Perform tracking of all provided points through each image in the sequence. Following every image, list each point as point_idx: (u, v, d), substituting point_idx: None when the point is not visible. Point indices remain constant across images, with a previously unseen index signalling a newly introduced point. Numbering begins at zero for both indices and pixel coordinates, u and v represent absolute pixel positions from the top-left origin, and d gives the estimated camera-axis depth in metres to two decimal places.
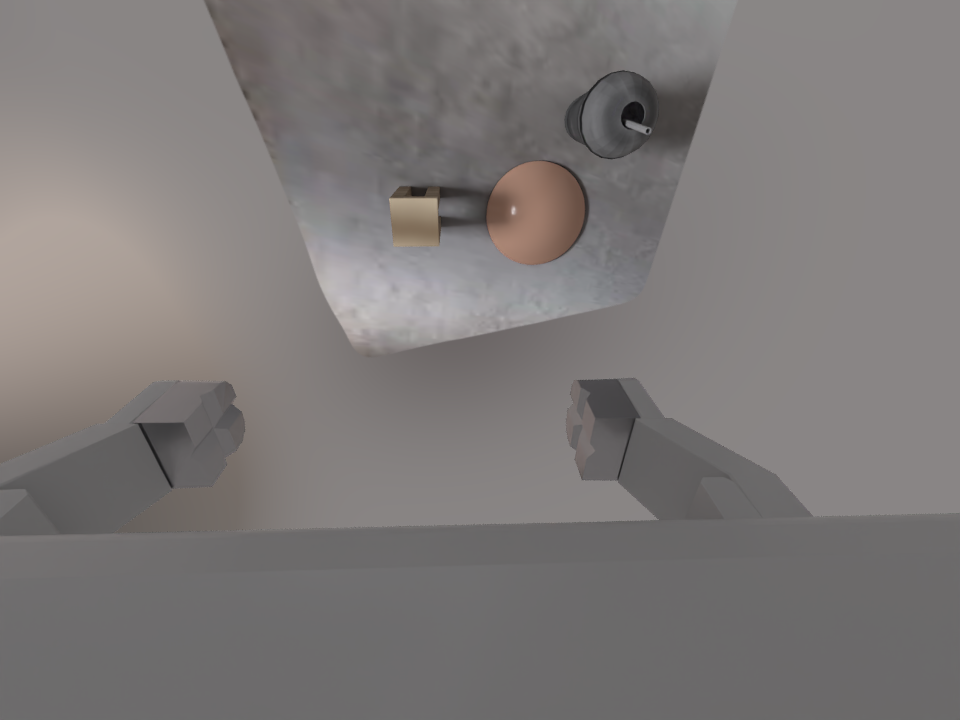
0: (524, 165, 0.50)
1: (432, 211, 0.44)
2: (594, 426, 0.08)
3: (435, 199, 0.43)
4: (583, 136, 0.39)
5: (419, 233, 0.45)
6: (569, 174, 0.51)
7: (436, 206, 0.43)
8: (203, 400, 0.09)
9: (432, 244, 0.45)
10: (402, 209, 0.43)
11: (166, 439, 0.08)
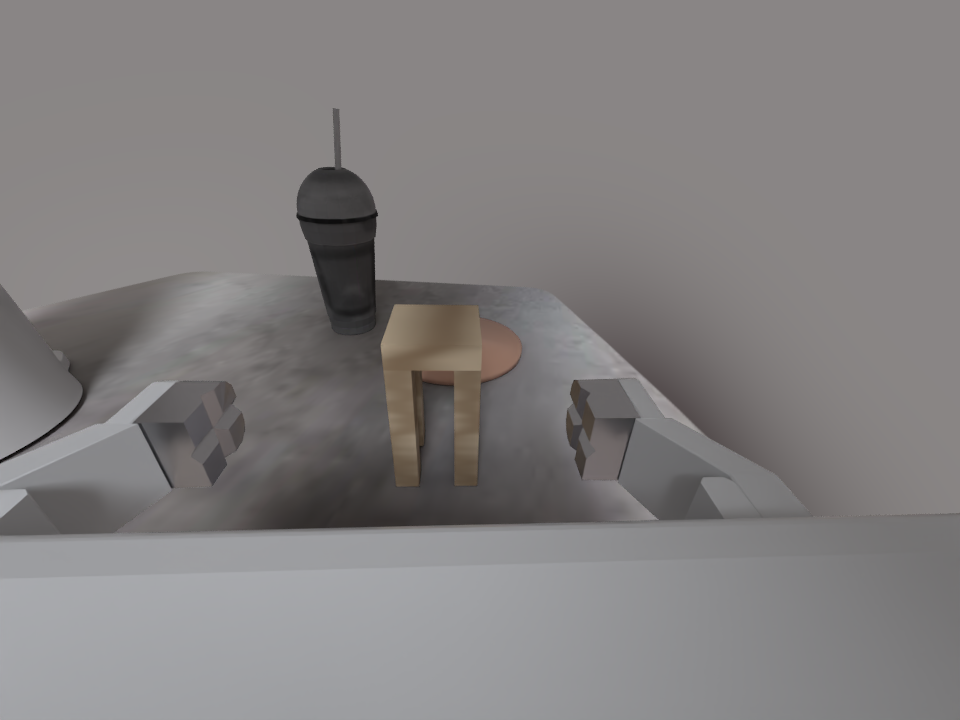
0: None
1: (416, 308, 0.24)
2: (594, 426, 0.08)
3: (396, 305, 0.24)
4: (348, 219, 0.35)
5: (454, 319, 0.23)
6: None
7: (408, 305, 0.24)
8: (203, 400, 0.09)
9: (475, 310, 0.24)
10: (406, 332, 0.21)
11: (166, 439, 0.08)
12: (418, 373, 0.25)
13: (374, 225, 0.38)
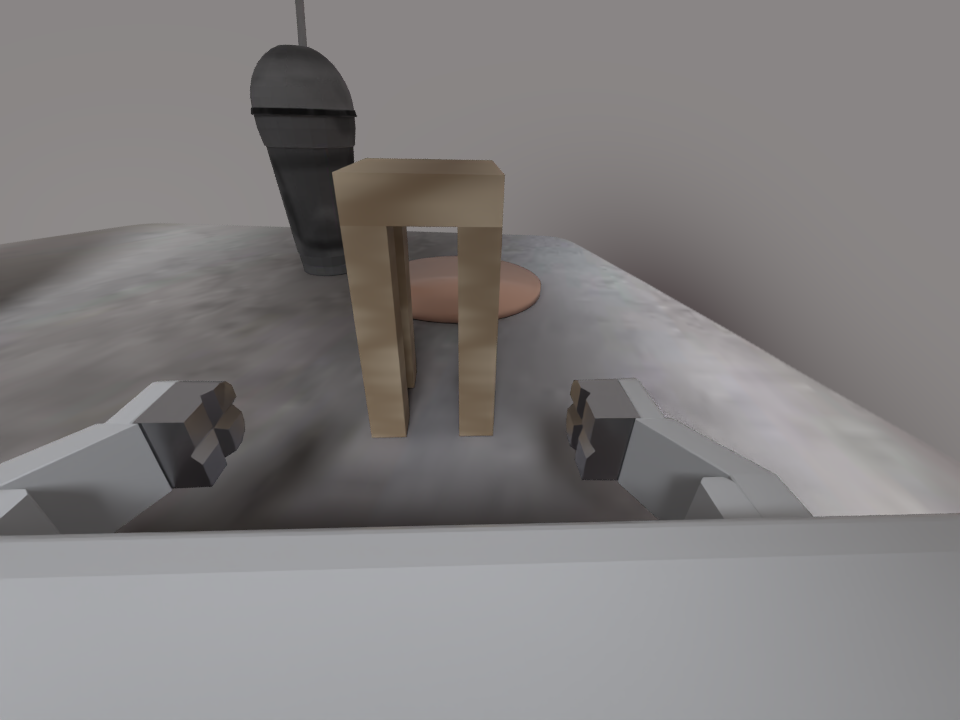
0: None
1: (398, 160, 0.16)
2: (594, 426, 0.08)
3: (367, 158, 0.16)
4: (315, 110, 0.27)
5: (457, 164, 0.14)
6: None
7: (386, 159, 0.16)
8: (203, 400, 0.09)
9: (488, 162, 0.16)
10: (378, 167, 0.13)
11: (166, 439, 0.08)
12: (403, 268, 0.17)
13: (352, 128, 0.30)
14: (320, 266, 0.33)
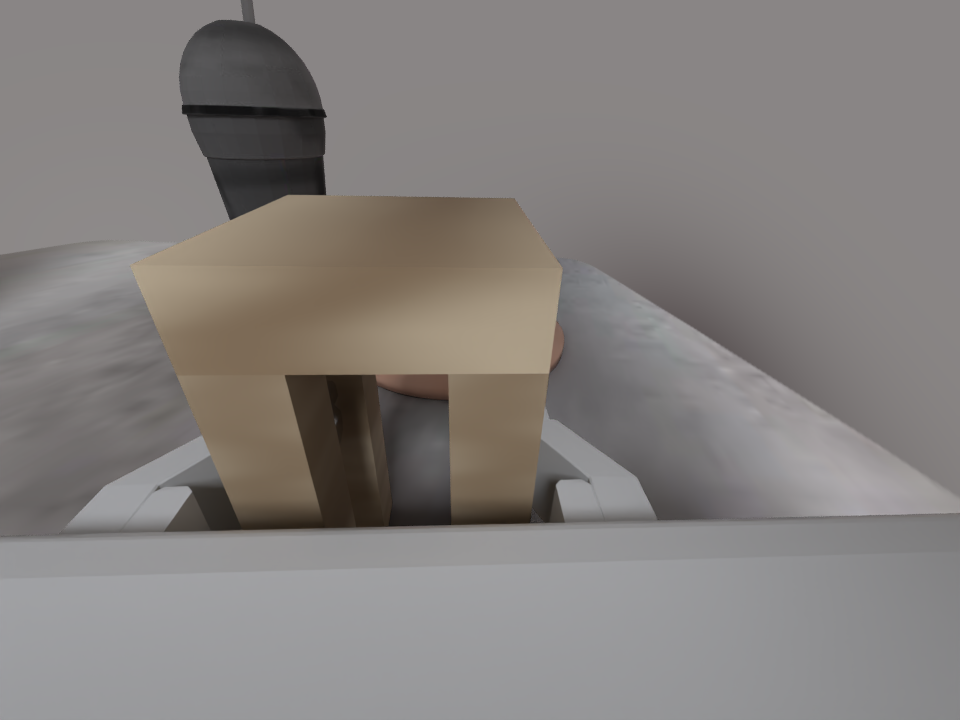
0: None
1: (343, 200, 0.09)
2: None
3: (290, 196, 0.09)
4: (265, 109, 0.20)
5: (450, 216, 0.07)
6: None
7: (324, 196, 0.09)
8: None
9: (509, 204, 0.09)
10: (272, 236, 0.06)
11: None
12: (360, 381, 0.10)
13: (319, 132, 0.23)
14: None
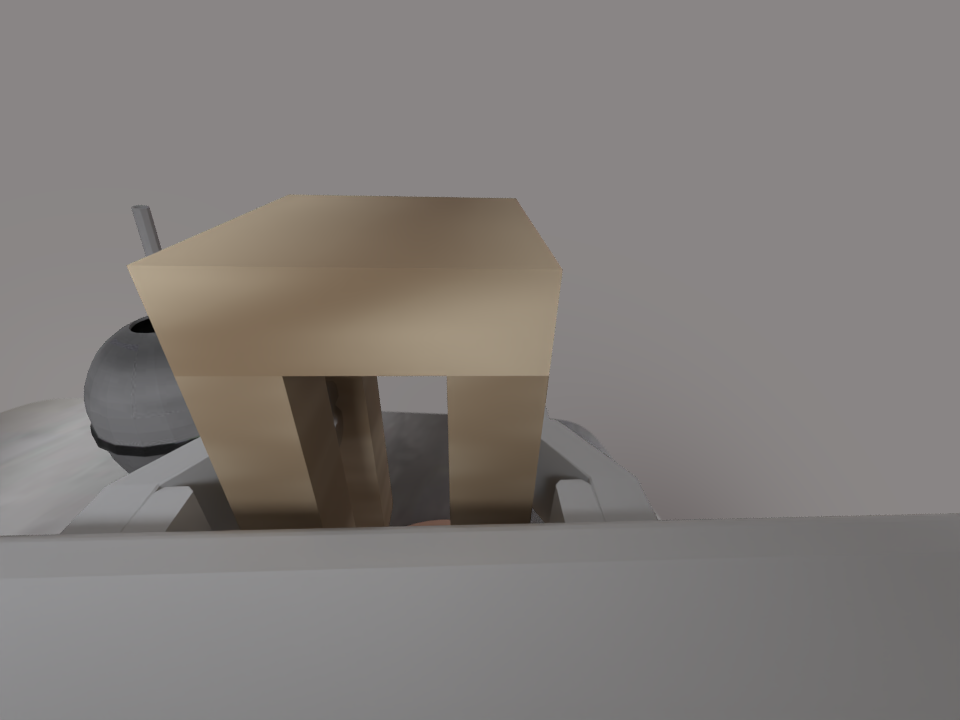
0: None
1: (344, 199, 0.08)
2: None
3: (291, 196, 0.09)
4: None
5: (451, 216, 0.07)
6: None
7: (325, 196, 0.09)
8: None
9: (510, 204, 0.09)
10: (271, 236, 0.06)
11: None
12: (360, 381, 0.10)
13: None
14: None
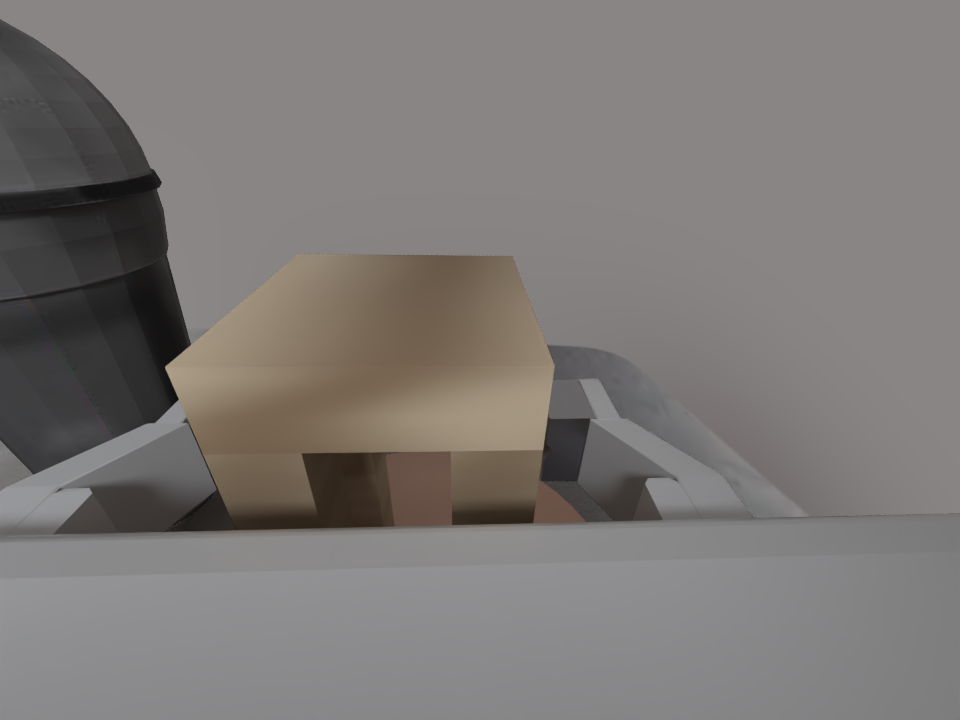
0: None
1: (351, 262, 0.09)
2: (549, 426, 0.08)
3: (300, 256, 0.09)
4: None
5: (452, 286, 0.08)
6: None
7: (332, 256, 0.09)
8: None
9: (507, 266, 0.09)
10: (289, 322, 0.06)
11: None
12: None
13: (127, 226, 0.11)
14: None
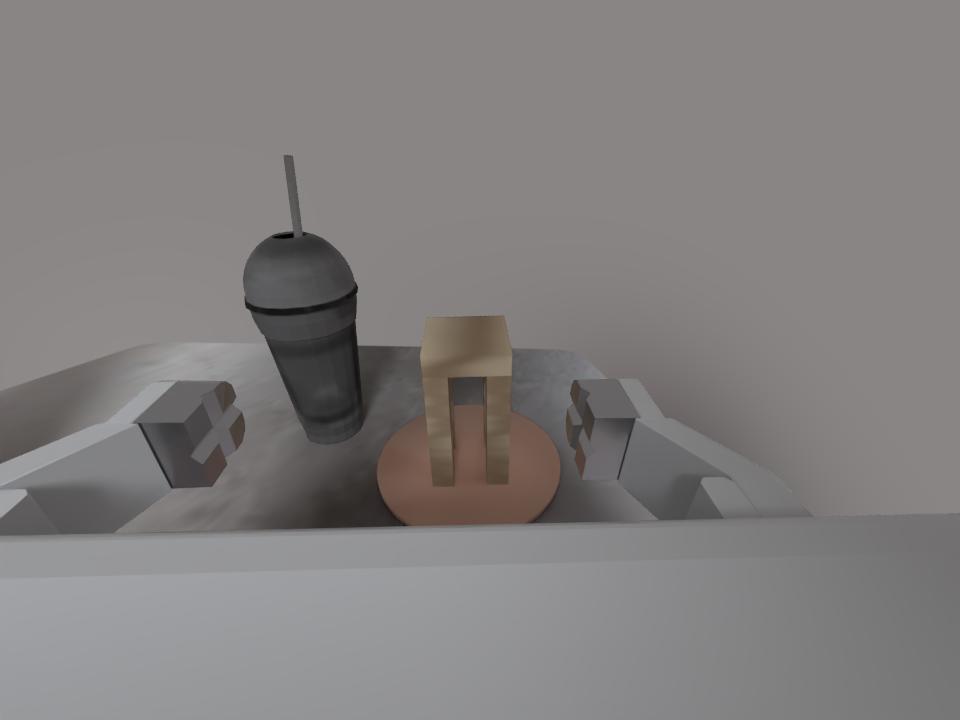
0: (380, 480, 0.28)
1: (447, 320, 0.26)
2: (594, 426, 0.08)
3: (428, 318, 0.26)
4: (313, 307, 0.25)
5: (484, 329, 0.25)
6: (405, 425, 0.33)
7: (439, 318, 0.26)
8: (203, 400, 0.09)
9: (502, 320, 0.26)
10: (441, 343, 0.23)
11: (166, 439, 0.08)
12: (450, 380, 0.27)
13: (353, 306, 0.28)
14: (322, 436, 0.31)
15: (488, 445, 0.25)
